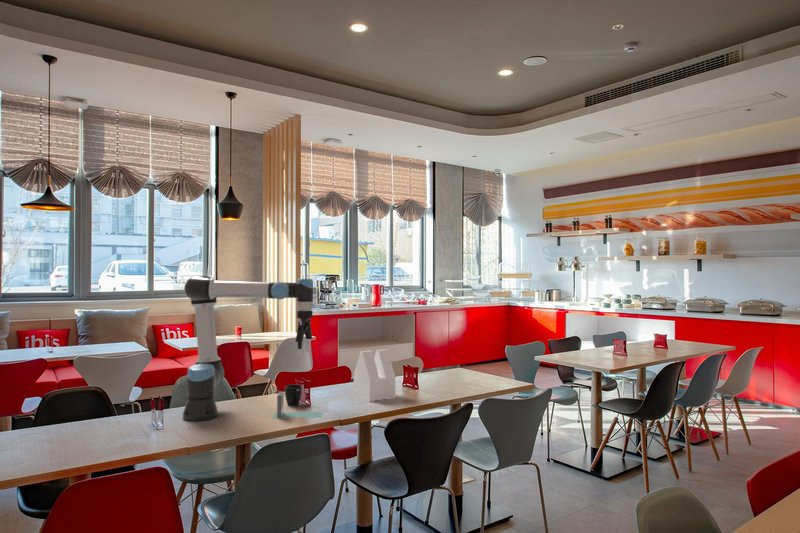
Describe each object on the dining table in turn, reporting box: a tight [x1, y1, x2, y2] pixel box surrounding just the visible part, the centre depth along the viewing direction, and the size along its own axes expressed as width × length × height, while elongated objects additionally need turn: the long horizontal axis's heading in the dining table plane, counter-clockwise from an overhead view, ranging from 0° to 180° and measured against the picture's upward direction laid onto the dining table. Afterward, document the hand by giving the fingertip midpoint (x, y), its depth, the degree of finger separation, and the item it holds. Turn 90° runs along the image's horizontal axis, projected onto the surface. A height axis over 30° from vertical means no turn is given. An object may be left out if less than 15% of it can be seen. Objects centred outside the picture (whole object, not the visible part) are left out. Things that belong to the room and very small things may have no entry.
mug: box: [284, 384, 303, 407], centre depth 274 cm, size 8×12×10 cm
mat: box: [272, 411, 323, 419], centre depth 254 cm, size 22×10×1 cm, turn 97°
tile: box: [276, 391, 285, 419], centre depth 253 cm, size 2×9×10 cm, turn 6°
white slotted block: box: [352, 348, 396, 402], centre depth 297 cm, size 19×15×25 cm
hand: (303, 353), depth 268 cm, fingers open, 13 cm apart
